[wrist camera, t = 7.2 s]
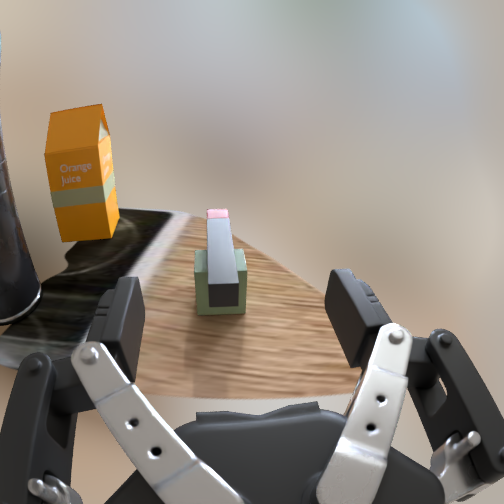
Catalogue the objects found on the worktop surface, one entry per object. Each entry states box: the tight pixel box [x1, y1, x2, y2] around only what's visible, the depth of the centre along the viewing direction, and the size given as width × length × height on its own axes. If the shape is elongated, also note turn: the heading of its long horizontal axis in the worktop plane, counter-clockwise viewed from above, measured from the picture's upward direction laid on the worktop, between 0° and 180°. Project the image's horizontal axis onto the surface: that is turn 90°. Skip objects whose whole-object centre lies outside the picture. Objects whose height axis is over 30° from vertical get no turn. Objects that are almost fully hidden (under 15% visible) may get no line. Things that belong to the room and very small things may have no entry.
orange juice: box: [44, 104, 119, 242], centre depth 42 cm, size 8×9×20 cm
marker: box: [207, 209, 239, 307], centre depth 31 cm, size 14×2×2 cm, turn 7°
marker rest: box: [194, 249, 247, 315], centre depth 33 cm, size 4×5×6 cm
